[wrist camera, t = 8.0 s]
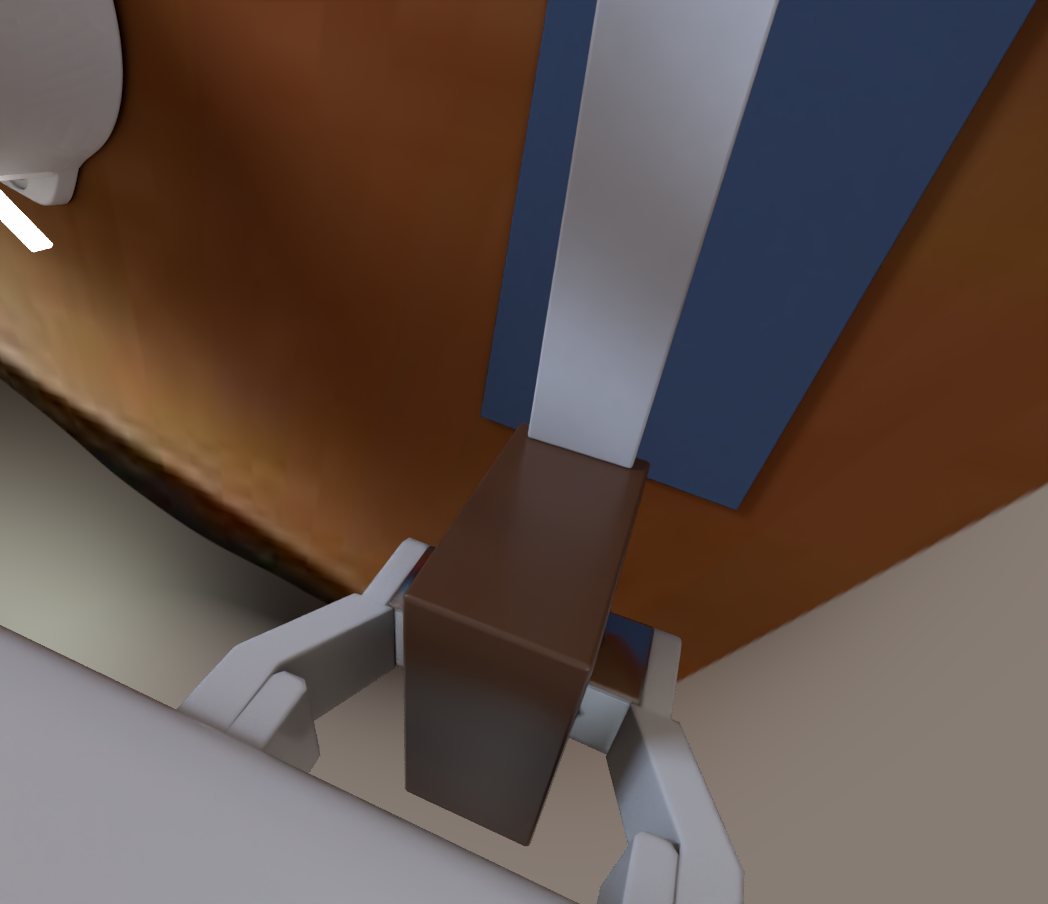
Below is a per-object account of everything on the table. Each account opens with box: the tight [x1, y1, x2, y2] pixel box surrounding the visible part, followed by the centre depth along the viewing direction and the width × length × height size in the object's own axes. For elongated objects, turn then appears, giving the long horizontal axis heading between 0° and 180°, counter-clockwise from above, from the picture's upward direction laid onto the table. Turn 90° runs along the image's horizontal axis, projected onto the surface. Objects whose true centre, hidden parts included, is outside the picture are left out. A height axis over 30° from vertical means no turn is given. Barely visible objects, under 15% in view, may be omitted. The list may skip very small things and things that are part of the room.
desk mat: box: [481, 0, 1037, 510], centre depth 21 cm, size 13×20×1 cm, turn 169°
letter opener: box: [403, 0, 779, 846], centre depth 8 cm, size 13×3×5 cm, turn 173°
